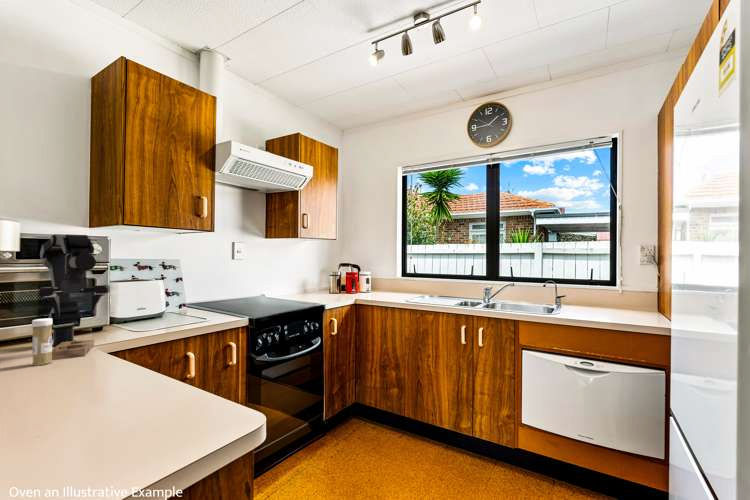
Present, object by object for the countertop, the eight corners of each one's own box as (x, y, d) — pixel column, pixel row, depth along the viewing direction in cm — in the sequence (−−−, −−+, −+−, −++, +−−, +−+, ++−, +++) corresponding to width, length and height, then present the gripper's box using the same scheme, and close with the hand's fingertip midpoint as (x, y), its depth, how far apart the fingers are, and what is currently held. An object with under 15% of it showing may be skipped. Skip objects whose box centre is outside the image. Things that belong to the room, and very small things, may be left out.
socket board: (94, 346, 131) (94, 339, 131) (84, 355, 117) (84, 348, 117) (61, 349, 126) (61, 342, 126) (48, 360, 113) (48, 352, 113)
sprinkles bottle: (50, 364, 108) (50, 319, 108) (30, 366, 106) (30, 321, 106) (53, 360, 112) (53, 317, 112) (33, 363, 110) (34, 318, 110)
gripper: (32, 272, 114) (32, 321, 114) (105, 270, 123) (105, 315, 123) (43, 271, 124) (43, 316, 124) (110, 269, 133) (110, 311, 133)
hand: (75, 315), depth 125 cm, fingers open, 9 cm apart
